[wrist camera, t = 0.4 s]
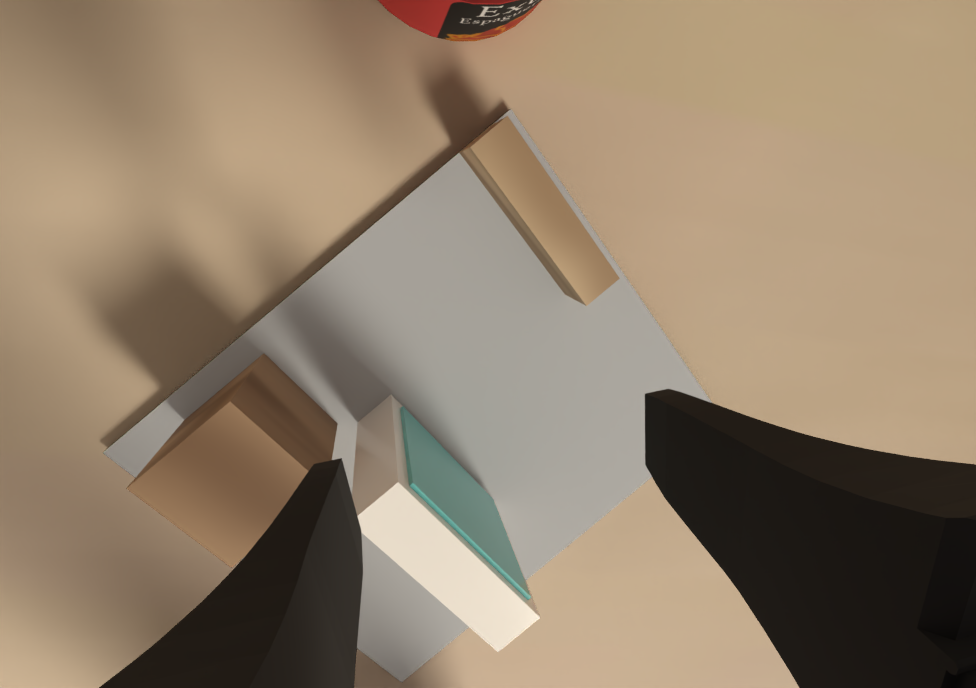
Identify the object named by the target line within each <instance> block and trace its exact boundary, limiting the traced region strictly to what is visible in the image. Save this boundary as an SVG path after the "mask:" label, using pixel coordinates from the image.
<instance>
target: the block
mask: <svg viewBox="0 0 976 688" xmlns="http://www.w3.org/2000/svg"><path fill="white" fill-rule="evenodd" d="M337 425H338V423H337V422H336V421H335V420H333V419H332V418H331V417H330V416H329V415H328V414H327V413H326V412H325V411H324V410H323V409H322V408H321V407H320V406H319V405H318V404H317V403H316V402H315V401H314V400H313V399H312V398H310V397H309V396H308V395H307V394H306V393H305V392H304V391H303V390H302V389H301V388H300V387H299V386H298V385H297V384H296V383H295V382H294V381H293V380H292V379H291V378H290V377H288V376H287V375H286V374H285V373H284V372H283V371H282V370H281V369H280V368H279V367H278V366H277V365H276V364H275V363H274V362H273V361H272V360H271V359H270V358H269V357H268V356H267V355H265V354H264V353H263V354H262V355H261V356H260V357H259V358H257V359H256V360H255V361H254V362H253V363H252V364H250V365H249V366H248V367H247V368H246V369H244V370H243V371H242V372H241V373H240V374H238V375H237V376H236V377H235V378H234V379H232V380H231V381H230V382H229V383H228V384H227V385H225V386H224V387H223V388H222V389H221V390H219V391H218V392H217V393H216V394H215V395H213V396H212V397H211V398H210V399H209V400H208V401H206V402H205V403H204V404H203V405H202V406H200V407H199V408H198V409H197V410H196V411H194V412H193V413H192V414H191V415H190V416H188V417H187V418H186V419H185V420H184V421H183V422H182V423H181V425H180V426H179V427H178V428H177V429H176V430H175V432H174V433H173V434H172V435H171V436H170V438H169V439H168V440H167V441H166V442H165V443H164V445H163V446H162V447H161V448H160V449H159V451H158V452H157V453H156V454H155V455H154V456H153V458H152V459H151V460H150V461H149V462H148V464H147V465H146V466H145V467H144V468H143V470H142V471H141V472H140V473H139V474H138V475H137V477H136V478H135V479H134V480H133V481H132V483H131V484H130V485H129V486H128V487H127V488H126V489H128V490H129V491H130V492H132V493H133V494H134V495H136V496H137V497H138V498H140V499H141V500H142V501H144V502H145V503H146V504H148V505H149V506H150V507H152V508H153V509H154V510H156V511H157V512H158V513H160V514H161V515H162V516H164V517H165V518H166V519H167V520H169V521H170V522H171V523H173V524H174V525H175V526H177V527H178V528H179V529H181V530H182V531H183V532H185V533H186V534H187V535H189V536H190V537H191V538H193V539H194V540H195V541H197V542H198V543H199V544H201V545H202V546H203V547H205V548H206V549H207V550H209V551H210V552H211V553H213V554H214V555H215V556H216V557H218V558H219V559H220V560H222V561H223V562H224V563H226V564H227V565H228V566H230V567H231V568H232V567H233V566H234V565H235V564H236V563H238V562H239V561H240V560H241V559H242V558H244V557H245V556H246V555H247V553H248V552H249V551H250V550H251V549H252V547H253V546H254V545H255V544H256V542H257V541H258V540H259V539H260V537H261V536H262V535H263V534H264V533H265V531H266V530H267V529H268V528H269V526H270V525H271V523H272V522H273V521H274V519H275V518H276V517H277V515H278V514H279V513H280V511H281V510H282V508H283V507H284V506H285V504H286V503H287V501H288V500H289V499H290V497H291V496H292V494H293V493H294V491H295V490H296V489H297V487H298V486H299V484H300V483H301V481H302V480H303V478H304V477H305V475H306V474H307V473H308V471H309V470H310V469H311V467H312V466H313V464H316V463H321V462H325V461H330V460H332V456H333V450H334V443H335V437H336V431H337Z"/></svg>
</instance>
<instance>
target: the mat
mask: <svg viewBox="0 0 976 688" xmlns="http://www.w3.org/2000/svg"><path fill="white" fill-rule="evenodd" d="M506 116H508V117H509V119H510V120H511V121H512V123H513V124H514V126H515V127H516V129H517V130H518V132H519V133H520V134H521V136H522V137H523V139H524V140H525V142H526V143H527V145H528V146H529V148H530V149H531V150H532V152H533V153H534V155H535V156H536V158H537V159H538V161H539V162H540V163H541V165H542V166H543V168H544V169H545V171H546V172H547V174H548V175H549V176H550V178H551V179H552V181H553V182H554V184H555V185H556V187H557V188H558V190H559V191H560V192H561V194H562V195H563V197H564V198H565V200H566V201H567V203H568V204H569V205H570V207H571V208H572V210H573V211H574V213H575V214H576V216H577V217H578V219H579V220H580V221H581V223H582V224H583V226H584V227H585V229H586V230H587V232H588V233H589V234H590V236H591V237H592V239H593V240H594V242H595V243H596V245H597V246H598V248H599V249H600V250H601V252H602V253H603V255H604V256H605V258H606V259H607V261H608V262H609V263H610V265H611V266H612V268H613V269H614V271H615V272H616V274H617V275H618V277H619V278H620V279H619V280H617V281H616V282H615V283H614V284H613V285H611V286H610V287H609V288H608V289H607V290H605V291H604V292H603V293H602V294H601V295H599V296H598V297H597V298H596V299H595V300H593V301H592V302H591V303H590V304H589V305H587V306H585V305H584V304H582V303H580V302H578V301H576V300H574V299H572V298H570V297H569V296H567V295H565V294H564V293H563V291H562V290H561V289H560V287H559V286H558V285H557V283H556V282H555V281H554V279H553V278H552V277H551V275H550V274H549V273H548V271H547V270H546V269H545V267H544V266H543V264H542V263H541V262H540V260H539V259H538V258H537V256H536V255H535V254H534V252H533V251H532V250H531V248H530V247H529V246H528V244H527V243H526V242H525V240H524V239H523V238H522V236H521V235H520V234H519V232H518V231H517V230H516V228H515V227H514V226H513V224H512V223H511V222H510V220H509V219H508V217H507V216H506V215H505V213H504V212H503V211H502V209H501V208H500V207H499V205H498V204H497V203H496V201H495V200H494V199H493V197H492V196H491V195H490V193H489V192H488V191H487V189H486V188H485V187H484V185H483V184H482V183H481V181H480V180H479V179H478V177H477V176H476V175H475V173H474V172H473V171H472V169H471V168H470V166H469V165H468V164H467V162H466V161H465V160H464V158H463V157H462V156H461V154H460V153H458V154H456V155H455V156H454V157H453V158H452V159H450V160H449V161H448V162H447V163H446V164H444V165H443V166H442V167H441V168H440V169H439V170H437V171H436V172H435V173H434V174H433V175H431V176H430V177H429V178H428V179H427V180H425V181H424V182H423V183H422V184H421V185H420V186H418V187H417V188H416V189H415V190H414V191H412V192H411V193H410V194H409V195H408V196H406V197H405V198H404V199H403V200H402V201H401V202H399V203H398V204H397V205H396V206H395V207H393V208H392V209H391V210H390V211H389V212H387V213H386V214H385V215H384V216H383V217H382V218H380V219H379V220H378V221H377V222H376V223H374V224H373V225H372V226H371V227H370V228H368V229H367V230H366V231H365V232H364V233H363V234H361V235H360V236H359V237H358V238H357V239H355V240H354V241H353V242H352V243H351V244H349V245H348V246H347V247H346V248H345V249H344V250H342V251H341V252H340V253H339V254H338V255H336V256H335V257H334V258H333V259H332V260H330V261H329V262H328V263H327V264H326V265H325V266H323V267H322V268H321V269H320V270H319V271H317V272H316V273H315V274H314V275H313V276H312V277H310V278H309V279H308V280H307V281H306V282H304V283H303V284H302V285H301V286H300V287H298V288H297V289H296V290H295V291H294V292H293V293H291V294H290V295H289V296H288V297H287V298H285V299H284V300H283V301H282V302H281V303H279V304H278V305H277V306H276V307H275V308H274V309H272V310H271V311H270V312H269V313H268V314H266V315H265V316H264V317H263V318H262V319H260V320H259V321H258V322H257V323H256V324H255V325H253V326H252V327H251V328H250V329H249V330H247V331H246V332H245V333H244V334H243V335H241V336H240V337H239V338H238V339H237V340H236V341H234V342H233V343H232V344H231V345H230V346H228V347H227V348H226V349H225V350H224V351H222V352H221V353H220V354H219V355H218V356H217V357H215V358H214V359H213V360H212V361H211V362H209V363H208V364H207V365H206V366H205V367H203V368H202V369H201V370H200V371H199V372H198V373H196V374H195V375H194V376H193V377H192V378H190V379H189V380H188V381H187V382H186V383H184V384H183V385H182V386H181V387H180V388H179V389H177V390H176V391H175V392H174V393H173V394H171V395H170V396H169V397H168V398H167V399H165V400H164V401H163V402H162V403H161V404H160V405H158V406H157V407H156V408H155V409H154V410H152V411H151V412H150V413H149V414H148V415H146V416H145V417H144V418H143V419H142V420H141V421H139V422H138V423H137V424H136V425H135V426H133V427H132V428H131V429H130V430H129V431H127V432H126V433H125V434H124V435H123V436H122V437H120V438H119V439H118V440H117V441H116V442H114V443H113V444H112V445H111V446H110V447H108V448H107V449H106V450H105V451H104V452H103V454H105V455H106V456H107V457H109V458H110V459H111V460H113V461H114V462H115V463H116V464H118V465H119V466H120V467H122V468H123V469H124V470H126V471H127V472H128V473H129V474H131V475H132V476H133V477H135V478H136V477H137V475H138V474H139V473H140V472H141V471H142V470H143V468H144V467H145V466H146V465H147V464H148V462H149V461H150V460H151V459H152V458H153V456H154V455H155V454H156V453H157V452H158V451H159V449H160V448H161V447H162V446H163V445H164V443H165V442H166V441H167V440H168V439H169V438H170V436H171V435H172V434H173V433H174V432H175V430H176V429H177V428H178V427H179V426H180V425H181V423H182V422H183V421H184V420H185V419H186V418H187V417H188V416H190V415H191V414H192V413H193V412H194V411H196V410H197V409H198V408H199V407H200V406H202V405H203V404H204V403H205V402H206V401H208V400H209V399H210V398H211V397H212V396H213V395H215V394H216V393H217V392H218V391H219V390H221V389H222V388H223V387H224V386H225V385H227V384H228V383H229V382H230V381H231V380H232V379H234V378H235V377H236V376H237V375H238V374H240V373H241V372H242V371H243V370H244V369H246V368H247V367H248V366H249V365H250V364H252V363H253V362H254V361H255V360H256V359H257V358H259V357H260V356H261V355H262V354H263V353H264V354H265V355H267V356H268V357H269V358H270V359H271V360H272V361H273V362H274V363H275V364H276V365H277V366H278V367H279V368H280V369H281V370H282V371H283V372H284V373H285V374H286V375H287V376H288V377H290V378H291V379H292V380H293V381H294V382H295V383H296V384H297V385H298V386H299V387H300V388H301V389H302V390H303V391H304V392H305V393H306V394H307V395H308V396H309V397H310V398H312V399H313V400H314V401H315V402H316V403H317V404H318V405H319V406H320V407H321V408H322V409H323V410H324V411H325V412H326V413H327V414H328V415H329V416H330V417H331V418H332V419H333V420H335V421H336V422H337V423H338V425H337V431H336V437H335V443H334V450H333V456H332V460H335V459H340V458H342V461H343V465H344V468H345V472H346V476H347V479H348V483H349V487H350V491H351V494H352V488H353V475H354V462H355V449H356V436H357V423H358V422H359V421H360V420H361V419H362V418H363V417H365V416H366V415H367V414H368V413H369V412H371V411H372V410H373V409H374V408H375V407H377V406H378V405H379V404H380V403H381V402H383V401H384V400H385V399H386V398H387V397H389V396H390V395H392V396H393V397H394V398H395V399H396V400H397V401H398V402H399V403H400V404H401V405H402V406H404V408H405V409H406V410H407V411H408V412H409V413H410V414H411V415H412V416H413V417H414V418H415V419H416V420H417V421H418V422H419V423H420V424H421V425H422V426H423V427H424V428H425V429H426V430H427V431H428V432H429V433H430V434H431V435H432V436H433V437H434V438H435V439H436V440H437V442H438V443H439V444H440V445H441V446H442V447H443V448H444V449H445V450H446V451H447V452H448V453H449V454H450V455H451V456H452V457H453V458H454V459H455V460H456V461H457V462H458V463H459V464H460V465H461V466H462V467H463V468H464V469H465V470H466V471H467V472H468V473H469V475H470V476H471V477H472V478H473V479H474V480H475V481H476V482H477V483H478V484H479V485H480V486H481V487H482V488H483V489H484V490H485V491H486V492H487V493H488V494H489V495H490V496H491V497H492V498H493V499H494V501H495V503H496V505H497V508H498V510H499V513H500V516H501V518H502V521H503V523H504V526H505V528H506V531H507V534H508V536H509V539H510V541H511V544H512V546H513V549H514V552H515V554H516V557H517V559H518V562H519V564H520V567H521V570H522V572H523V575H524V577H525V580H527V579H528V578H529V577H531V576H532V575H533V574H534V573H536V572H537V571H538V570H539V569H540V568H542V567H543V566H544V565H545V564H547V563H548V562H549V561H550V560H551V559H553V558H554V557H555V556H556V555H557V554H559V553H560V552H561V551H562V550H564V549H565V548H566V547H567V546H568V545H570V544H571V543H572V542H573V541H575V540H576V539H577V538H578V537H579V536H581V535H582V534H583V533H584V532H585V531H587V530H588V529H589V528H590V527H592V526H593V525H594V524H595V523H596V522H598V521H599V520H600V519H601V518H603V517H604V516H605V515H606V514H607V513H609V512H610V511H611V510H612V509H613V508H615V507H616V506H617V505H618V504H620V503H621V502H622V501H623V500H624V499H626V498H627V497H628V496H629V495H631V494H632V493H633V492H634V491H635V490H637V489H638V488H639V487H640V486H641V485H643V484H644V483H645V482H646V481H648V480H649V479H650V478H651V477H652V476H651V474H650V472H649V470H648V469H647V467H646V465H645V394H646V393H650V392H655V391H660V390H665V389H672V390H675V391H679V392H682V393H685V394H688V395H691V396H694V397H697V398H699V399H702V400H705V401H708V402H710V403H712V402H711V401H710V399H709V398H708V396H707V395H706V393H705V392H704V390H703V389H702V387H701V386H700V385H699V383H698V382H697V380H696V379H695V377H694V376H693V374H692V373H691V371H690V370H689V368H688V367H687V366H686V364H685V363H684V361H683V360H682V358H681V357H680V355H679V354H678V352H677V351H676V349H675V348H674V347H673V345H672V344H671V342H670V341H669V339H668V338H667V336H666V335H665V333H664V332H663V330H662V329H661V328H660V326H659V325H658V323H657V322H656V320H655V319H654V317H653V316H652V314H651V313H650V311H649V310H648V308H647V307H646V306H645V304H644V303H643V301H642V300H641V298H640V297H639V295H638V294H637V292H636V291H635V289H634V288H633V287H632V285H631V284H630V282H629V281H628V279H627V278H626V276H625V275H624V273H623V272H622V270H621V269H620V268H619V266H618V265H617V263H616V262H615V260H614V259H613V257H612V256H611V254H610V253H609V251H608V250H607V249H606V247H605V246H604V244H603V243H602V241H601V240H600V238H599V237H598V235H597V234H596V232H595V231H594V230H593V228H592V227H591V225H590V224H589V222H588V221H587V219H586V218H585V216H584V215H583V213H582V212H581V211H580V209H579V208H578V206H577V205H576V203H575V202H574V200H573V199H572V197H571V196H570V194H569V193H568V192H567V190H566V189H565V187H564V186H563V184H562V183H561V181H560V180H559V178H558V177H557V175H556V174H555V173H554V171H553V170H552V168H551V167H550V165H549V164H548V162H547V161H546V159H545V158H544V156H543V155H542V153H541V152H540V151H539V149H538V148H537V146H536V145H535V143H534V142H533V140H532V139H531V137H530V136H529V134H528V133H527V132H526V130H525V129H524V127H523V126H522V124H521V123H520V121H519V120H518V118H517V117H516V115H515V114H514V113H513V111H512V110H511V109H510V110H509V111H507V112H506V113H505V114H504V115H503V116H501V117H500V118H499V119H498V120H497V121H496V122H498V121H499V120H501V119H503V118H505V117H506ZM496 122H494V123H496ZM494 123H493V124H494ZM493 124H492V125H493ZM488 128H489V127H488ZM488 128H487V129H488ZM487 129H486V130H487ZM482 133H483V132H482ZM482 133H481V134H482ZM481 134H480V135H481ZM480 135H479V136H480ZM475 139H476V138H475ZM475 139H474V140H475ZM474 140H473V141H474ZM469 144H470V143H469ZM469 144H468V145H469ZM468 145H467V146H468ZM463 149H464V148H463ZM463 149H462V150H463ZM462 150H461V151H462ZM461 151H460V152H461ZM361 535H362V556H363V580H362V593H361V605H360V617H359V629H358V640H357V649H359V650H360V651H361V652H362V653H364V654H365V655H366V656H368V657H369V658H370V659H372V660H373V661H374V662H376V663H377V664H378V665H379V666H381V667H382V668H383V669H385V670H386V671H387V672H389V673H390V674H391V675H392V676H394V677H395V678H396V679H398V680H399V681H400V682H403V681H404V680H405V679H406V678H408V677H409V676H410V675H411V674H413V673H414V672H415V671H416V670H417V669H419V668H420V667H421V666H422V665H424V664H425V663H426V662H427V661H428V660H430V659H431V658H432V657H433V656H434V655H436V654H437V653H438V652H439V651H441V650H442V649H443V648H444V647H445V646H447V645H448V644H449V643H450V642H452V641H453V640H454V639H455V638H456V637H458V636H459V635H460V634H461V633H462V632H464V631H465V630H466V629H467V628H469V626H468V625H466V624H465V623H464V622H463V621H462V620H461V619H460V618H458V617H457V616H456V615H455V614H454V613H453V612H452V611H450V610H449V609H448V608H447V607H446V606H445V605H444V604H442V603H441V602H440V601H439V600H438V599H437V598H436V597H434V596H433V595H432V594H431V593H430V592H429V591H428V590H426V589H425V588H424V587H423V586H422V585H421V584H420V583H418V582H417V581H416V580H415V579H414V578H413V577H412V576H410V575H409V574H408V573H407V572H406V571H405V570H404V569H403V568H401V567H400V566H399V565H398V564H397V563H396V562H395V561H393V560H392V559H391V558H390V557H389V556H388V555H387V554H385V553H384V552H383V551H382V550H381V549H380V548H379V547H377V546H376V545H375V544H374V543H373V542H372V541H371V540H369V539H368V538H367V537H366V536H365V535H364V534H363V533H361ZM242 559H243V558H242ZM242 559H241V560H242Z"/></svg>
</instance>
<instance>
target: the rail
mask: <svg viewBox="0 0 976 688" xmlns="http://www.w3.org/2000/svg"><path fill="white" fill-rule="evenodd" d="M459 153H460V154H461V156H462V157H463V158H464V160H465V161H466V162H467V164H468V165H469V166H470V168H471V169H472V171H473V172H474V173H475V175H476V176H477V177H478V179H479V180H480V181H481V183H482V184H483V185H484V187H485V188H486V189H487V191H488V192H489V193H490V195H491V196H492V197H493V199H494V200H495V201H496V203H497V204H498V205H499V207H500V208H501V209H502V211H503V212H504V213H505V215H506V216H507V217H508V219H509V220H510V222H511V223H512V224H513V226H514V227H515V228H516V230H517V231H518V232H519V234H520V235H521V236H522V238H523V239H524V240H525V242H526V243H527V244H528V246H529V247H530V248H531V250H532V251H533V252H534V254H535V255H536V256H537V258H538V259H539V260H540V262H541V263H542V264H543V266H544V267H545V269H546V270H547V271H548V273H549V274H550V275H551V277H552V278H553V279H554V281H555V282H556V283H557V285H558V286H559V287H560V289H561V290H562V291H563V293H564V294H565V295H567V296H569V297H570V298H572V299H574V300H576V301H578V302H580V303H582V304H584V305H585V306H587V305H589V304H590V303H591V302H592V301H593V300H595V299H596V298H597V297H598V296H599V295H601V294H602V293H603V292H604V291H605V290H607V289H608V288H609V287H610V286H611V285H613V284H614V283H615V282H616V281H617V280H619V279H620V278H619V277H618V275H617V274H616V272H615V271H614V269H613V268H612V266H611V265H610V263H609V262H608V261H607V259H606V258H605V256H604V255H603V253H602V252H601V250H600V249H599V248H598V246H597V245H596V243H595V242H594V240H593V239H592V237H591V236H590V234H589V233H588V232H587V230H586V229H585V227H584V226H583V224H582V223H581V221H580V220H579V219H578V217H577V216H576V214H575V213H574V211H573V210H572V208H571V207H570V205H569V204H568V203H567V201H566V200H565V198H564V197H563V195H562V194H561V192H560V191H559V190H558V188H557V187H556V185H555V184H554V182H553V181H552V179H551V178H550V176H549V175H548V174H547V172H546V171H545V169H544V168H543V166H542V165H541V163H540V162H539V161H538V159H537V158H536V156H535V155H534V153H533V152H532V150H531V149H530V148H529V146H528V145H527V143H526V142H525V140H524V139H523V137H522V136H521V134H520V133H519V132H518V130H517V129H516V127H515V126H514V124H513V123H512V121H511V120H510V119H509V117H508V116H506V117H505V118H503V119H501V120H499V121H498V122H496V123H494V124H493V125H491V126H490V127H489V128H488V129H487V130H485V131H484V132H483V133H482V134H481V135H480V136H478V137H477V138H476V139H475V140H474V141H472V142H471V143H470V144H469V145H468V146H466V147H465V148H464V149H463V150H462V151H461V152H459Z"/></svg>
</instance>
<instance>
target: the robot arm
mask: <svg viewBox="0 0 976 688" xmlns="http://www.w3.org/2000/svg"><path fill="white" fill-rule="evenodd" d="M645 465H646V467H647V469H648V470H649V472H650V474H651V476H652V477H653V479H654V481H655V483H656V484H657V486H658V487H659V489H660V491H661V492H662V494H663V495H664V497H665V499H666V500H667V501H668V502H669V504H670V505H671V506H672V508H673V509H674V510H675V511H676V513H677V514H678V515H679V516H680V518H681V519H682V520H683V521H684V523H685V524H686V525H687V526H688V528H689V529H690V530H691V531H692V533H693V534H694V535H695V536H696V537H697V539H698V540H699V541H700V542H701V544H702V545H703V546H704V547H705V548H706V550H707V551H708V552H709V553H710V555H711V556H712V557H713V558H714V560H715V561H716V562H717V563H718V564H719V566H720V567H721V568H722V569H723V571H724V572H725V573H726V575H727V576H728V577H729V579H730V580H731V581H732V583H733V584H734V585H735V587H736V588H737V589H738V591H739V592H740V594H741V595H742V597H743V598H744V600H745V601H746V603H747V604H748V606H749V607H750V609H751V610H752V612H753V614H754V615H755V617H756V618H757V620H758V621H759V623H760V624H761V626H762V627H763V629H764V630H765V632H766V634H767V635H768V637H769V638H770V640H771V642H772V643H773V645H774V646H775V648H776V650H777V651H778V653H779V654H780V656H781V658H782V659H783V661H784V663H785V664H786V666H787V667H788V669H789V671H790V672H791V674H792V676H793V677H794V679H795V681H796V682H797V684H798V686H799V688H976V465H974V464H965V463H956V462H947V461H938V460H930V459H923V458H916V457H909V456H903V455H897V454H892V453H886V452H880V451H874V450H869V449H864V448H859V447H854V446H850V445H845V444H841V443H837V442H833V441H829V440H825V439H821V438H816V437H813V436H809V435H805V434H802V433H798V432H795V431H792V430H789V429H785V428H782V427H779V426H776V425H772V424H769V423H766V422H763V421H760V420H757V419H754V418H752V417H749V416H746V415H743V414H740V413H738V412H735V411H732V410H729V409H727V408H724V407H721V406H718V405H716V404H713V403H710V402H708V401H705V400H702V399H699V398H697V397H694V396H691V395H688V394H685V393H682V392H679V391H675V390H672V389H665V390H660V391H655V392H650V393H646V394H645ZM362 580H363V556H362V535H361V528H360V524H359V520H358V516H357V513H356V509H355V505H354V502H353V498H352V494H351V491H350V487H349V483H348V479H347V476H346V472H345V468H344V465H343V461H342V458H340V459H335V460H330V461H325V462H321V463H316V464H313V466H312V467H311V469H310V470H309V471H308V473H307V474H306V475H305V477H304V478H303V480H302V481H301V483H300V484H299V486H298V487H297V489H296V490H295V491H294V493H293V494H292V496H291V497H290V499H289V500H288V501H287V503H286V504H285V506H284V507H283V508H282V510H281V511H280V513H279V514H278V515H277V517H276V518H275V519H274V521H273V522H272V523H271V525H270V526H269V528H268V529H267V530H266V531H265V533H264V534H263V535H262V536H261V537H260V539H259V540H258V541H257V542H256V544H255V545H254V546H253V547H252V549H251V550H250V551H249V552H248V553H247V555H246V556H245V557H244V558H243V559H242V561H241V562H240V563H239V564H238V565H237V566H236V567H235V568H234V569H233V571H232V572H231V573H230V574H229V575H228V576H227V577H226V578H225V579H224V580H223V581H222V582H221V583H220V584H219V585H218V586H217V587H216V588H215V589H214V590H213V591H212V592H211V593H210V594H209V595H208V596H207V597H206V598H205V599H204V600H203V601H202V602H201V603H200V604H199V605H198V606H197V607H196V608H195V609H194V610H192V611H191V612H190V613H189V614H188V615H187V616H186V617H185V618H183V619H182V620H181V621H180V622H179V623H178V624H177V625H176V626H175V627H173V628H172V629H171V630H170V631H169V632H168V633H167V634H166V635H165V636H163V637H162V638H161V639H160V640H159V641H158V642H157V643H155V644H154V645H153V646H152V647H150V648H149V649H148V650H147V651H146V652H144V653H143V654H142V655H141V656H139V657H138V658H137V659H136V660H134V661H133V662H132V663H131V664H129V665H128V666H127V667H125V668H124V669H123V670H122V671H120V672H119V673H118V674H116V675H115V676H114V677H112V678H111V679H110V680H109V681H107V682H106V683H105V684H103V685H102V686H101V687H99V688H354V679H355V664H356V652H357V640H358V629H359V617H360V605H361V593H362Z"/></svg>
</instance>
